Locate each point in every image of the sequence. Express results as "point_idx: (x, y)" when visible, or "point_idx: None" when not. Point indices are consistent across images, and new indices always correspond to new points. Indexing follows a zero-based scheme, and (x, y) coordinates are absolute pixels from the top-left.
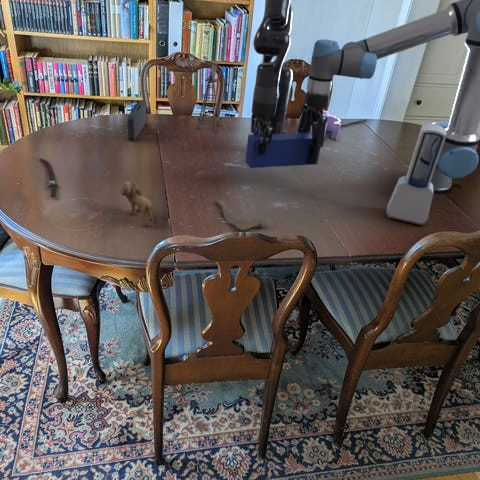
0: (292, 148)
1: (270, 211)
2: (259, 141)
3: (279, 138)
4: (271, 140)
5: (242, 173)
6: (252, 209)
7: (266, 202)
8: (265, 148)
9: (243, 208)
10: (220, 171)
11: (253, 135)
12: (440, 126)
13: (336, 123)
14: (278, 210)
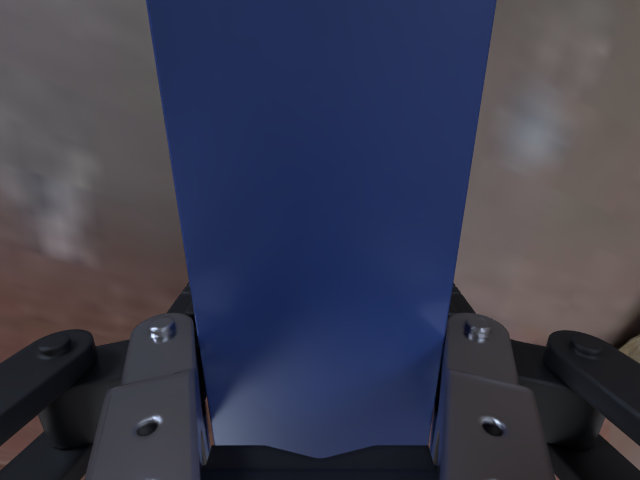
0: None
1: (576, 206)
2: (428, 414)
3: (424, 67)
4: (456, 258)
5: (169, 202)
6: (528, 274)
7: (494, 193)
8: (464, 304)
9: (506, 305)
10: (149, 297)
11: (243, 444)
12: None
13: None
14: (585, 164)
